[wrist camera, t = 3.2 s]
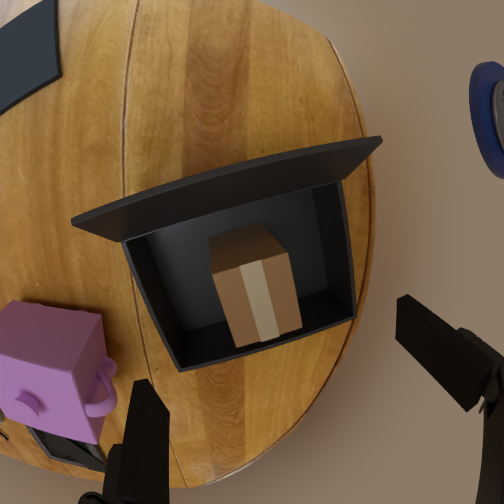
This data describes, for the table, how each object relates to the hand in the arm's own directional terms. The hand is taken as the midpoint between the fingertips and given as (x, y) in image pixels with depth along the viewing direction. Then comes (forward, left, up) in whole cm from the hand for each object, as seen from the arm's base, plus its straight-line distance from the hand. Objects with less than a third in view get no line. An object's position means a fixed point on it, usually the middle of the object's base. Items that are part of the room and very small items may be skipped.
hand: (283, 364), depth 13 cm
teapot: (+24, +3, -16) cm, 29 cm away
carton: (0, 0, -16) cm, 16 cm away
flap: (0, -8, -6) cm, 9 cm away
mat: (+22, -29, -16) cm, 40 cm away
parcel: (0, 0, -15) cm, 15 cm away
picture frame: (+37, +21, -16) cm, 45 cm away
